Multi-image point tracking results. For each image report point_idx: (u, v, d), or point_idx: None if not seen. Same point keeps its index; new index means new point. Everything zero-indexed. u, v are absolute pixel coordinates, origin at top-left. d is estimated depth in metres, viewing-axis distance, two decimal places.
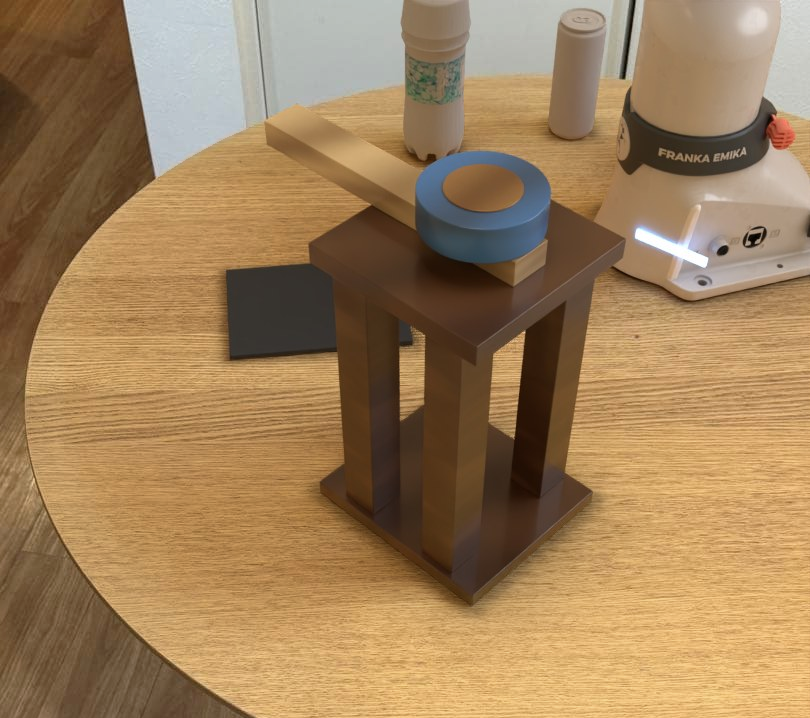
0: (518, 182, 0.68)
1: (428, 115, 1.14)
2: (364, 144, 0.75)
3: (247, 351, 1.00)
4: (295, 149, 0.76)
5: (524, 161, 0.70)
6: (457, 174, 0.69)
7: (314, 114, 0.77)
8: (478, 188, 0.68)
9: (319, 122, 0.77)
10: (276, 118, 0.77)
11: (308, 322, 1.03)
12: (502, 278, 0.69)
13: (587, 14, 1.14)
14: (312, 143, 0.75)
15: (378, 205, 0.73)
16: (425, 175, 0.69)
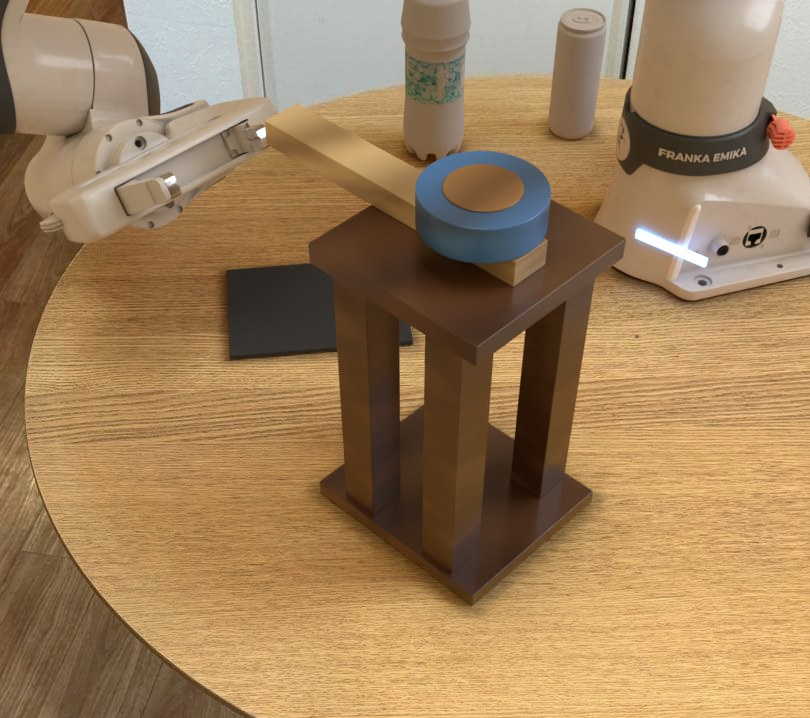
0: (518, 182, 0.68)
1: (428, 114, 1.14)
2: (364, 144, 0.75)
3: (247, 351, 1.00)
4: (295, 149, 0.76)
5: (524, 161, 0.70)
6: (457, 174, 0.69)
7: (314, 114, 0.77)
8: (478, 188, 0.68)
9: (319, 122, 0.77)
10: (276, 118, 0.77)
11: (308, 322, 1.03)
12: (502, 278, 0.69)
13: (587, 14, 1.14)
14: (312, 143, 0.75)
15: (378, 205, 0.73)
16: (425, 175, 0.69)
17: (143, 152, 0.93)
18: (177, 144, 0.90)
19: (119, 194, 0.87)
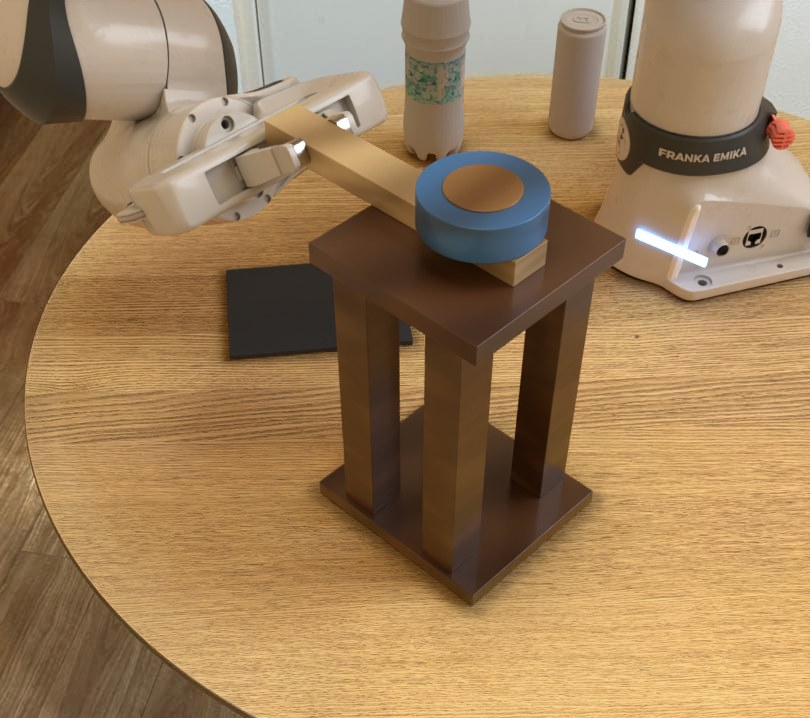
0: (518, 182, 0.68)
1: (428, 114, 1.14)
2: (364, 144, 0.75)
3: (247, 351, 1.00)
4: None
5: (524, 161, 0.70)
6: (457, 174, 0.69)
7: (314, 114, 0.77)
8: (478, 188, 0.68)
9: (319, 122, 0.77)
10: (276, 118, 0.77)
11: (308, 322, 1.03)
12: (502, 278, 0.69)
13: (587, 14, 1.14)
14: (312, 143, 0.75)
15: (378, 205, 0.73)
16: (425, 175, 0.69)
17: (231, 134, 0.83)
18: None
19: (239, 164, 0.77)
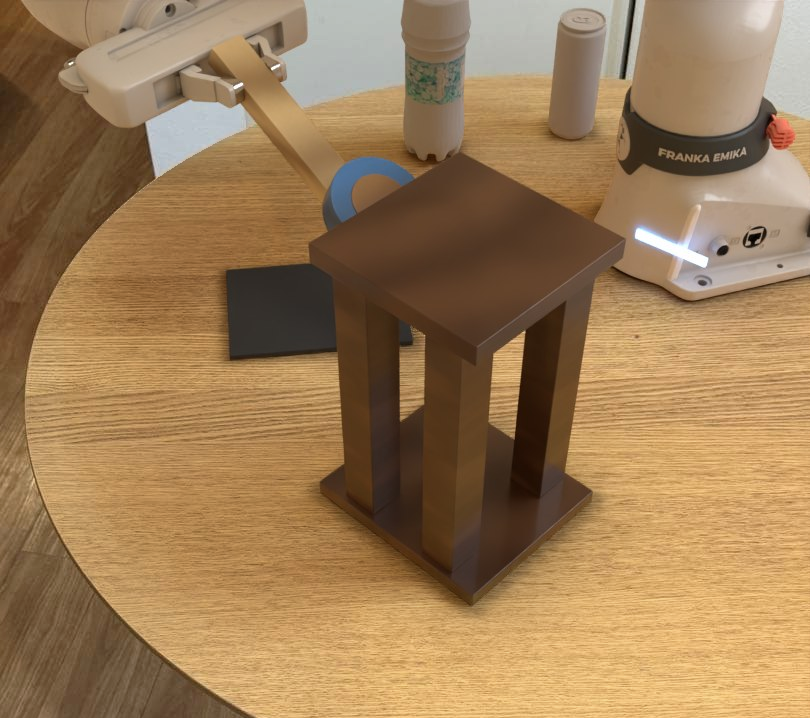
0: None
1: (428, 114, 1.14)
2: (292, 103, 0.91)
3: (247, 351, 1.00)
4: None
5: None
6: (364, 181, 0.88)
7: (254, 53, 0.91)
8: None
9: (257, 64, 0.91)
10: (222, 48, 0.90)
11: (308, 322, 1.03)
12: None
13: (587, 14, 1.14)
14: (249, 89, 0.90)
15: (293, 165, 0.91)
16: (340, 175, 0.87)
17: (171, 20, 0.94)
18: (215, 41, 0.92)
19: (182, 77, 0.90)
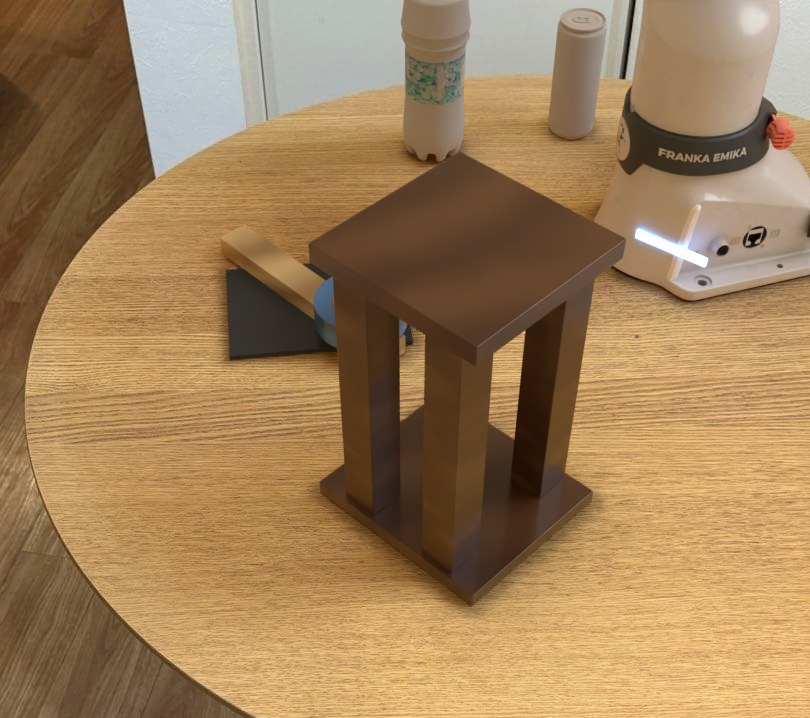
0: None
1: (428, 114, 1.14)
2: (288, 258, 1.05)
3: (247, 351, 1.00)
4: (240, 259, 1.07)
5: None
6: None
7: (255, 233, 1.08)
8: None
9: (258, 240, 1.07)
10: (228, 236, 1.08)
11: (308, 322, 1.03)
12: None
13: (587, 14, 1.14)
14: (251, 256, 1.06)
15: (294, 303, 1.04)
16: (322, 288, 0.99)
17: None
18: None
19: None
